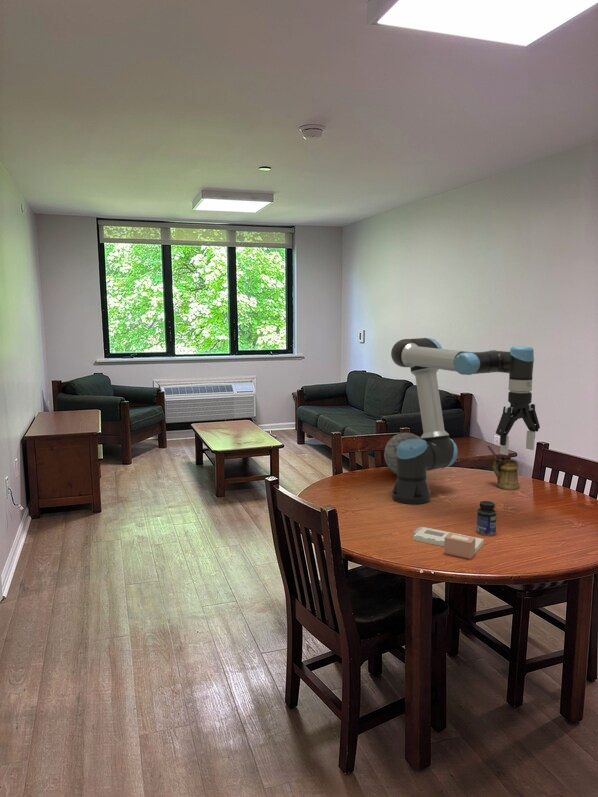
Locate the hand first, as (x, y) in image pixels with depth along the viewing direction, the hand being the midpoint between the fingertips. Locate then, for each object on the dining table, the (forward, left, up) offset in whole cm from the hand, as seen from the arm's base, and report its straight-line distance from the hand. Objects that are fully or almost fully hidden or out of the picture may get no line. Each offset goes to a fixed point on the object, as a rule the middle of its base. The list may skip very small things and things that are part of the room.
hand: (517, 451), depth 197 cm
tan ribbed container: (-14, +40, -26) cm, 50 cm away
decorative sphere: (-56, +35, -26) cm, 71 cm away
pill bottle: (-5, -18, -26) cm, 31 cm away
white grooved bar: (-13, -32, -24) cm, 43 cm away
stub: (-7, -40, -24) cm, 47 cm away
